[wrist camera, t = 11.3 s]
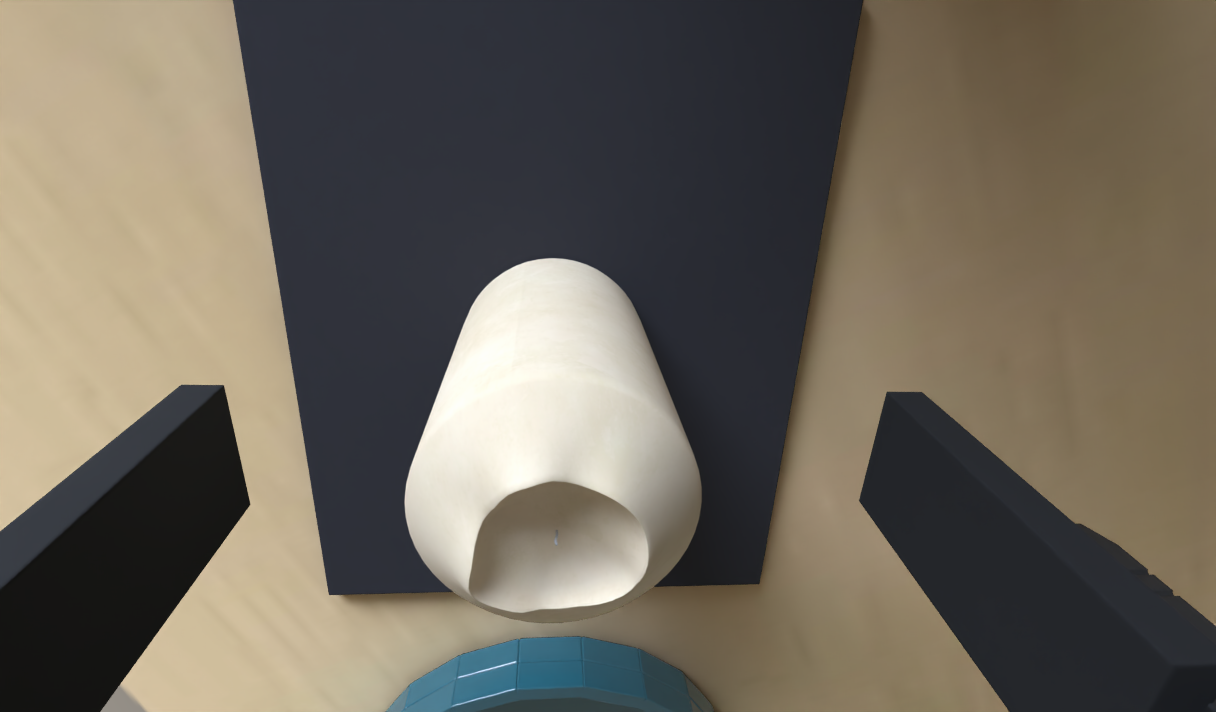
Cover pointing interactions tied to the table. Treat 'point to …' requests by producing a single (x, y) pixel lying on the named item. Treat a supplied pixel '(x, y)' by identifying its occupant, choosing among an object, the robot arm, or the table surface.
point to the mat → (542, 222)
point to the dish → (553, 680)
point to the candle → (552, 453)
